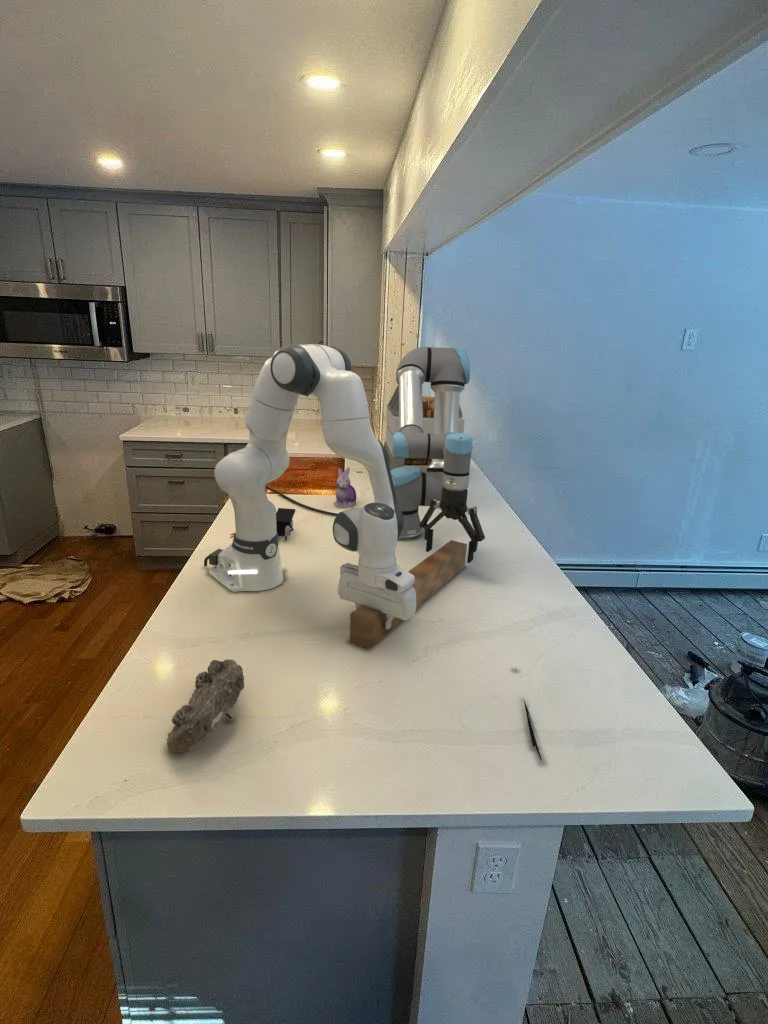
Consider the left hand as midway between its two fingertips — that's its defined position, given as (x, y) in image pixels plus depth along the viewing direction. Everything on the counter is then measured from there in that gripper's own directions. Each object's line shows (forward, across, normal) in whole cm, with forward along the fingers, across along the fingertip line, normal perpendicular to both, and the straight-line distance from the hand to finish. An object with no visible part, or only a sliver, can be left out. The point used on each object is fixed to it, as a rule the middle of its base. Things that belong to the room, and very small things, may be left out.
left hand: (374, 623), depth 137 cm
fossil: (+3, -10, -43) cm, 44 cm away
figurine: (+2, -60, +74) cm, 96 cm away
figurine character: (+2, -59, +35) cm, 68 cm away
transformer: (+2, -59, +134) cm, 146 cm away
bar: (+3, 0, +21) cm, 21 cm away
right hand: (-3, 0, +41) cm, 41 cm away
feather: (+3, +40, -7) cm, 41 cm away
